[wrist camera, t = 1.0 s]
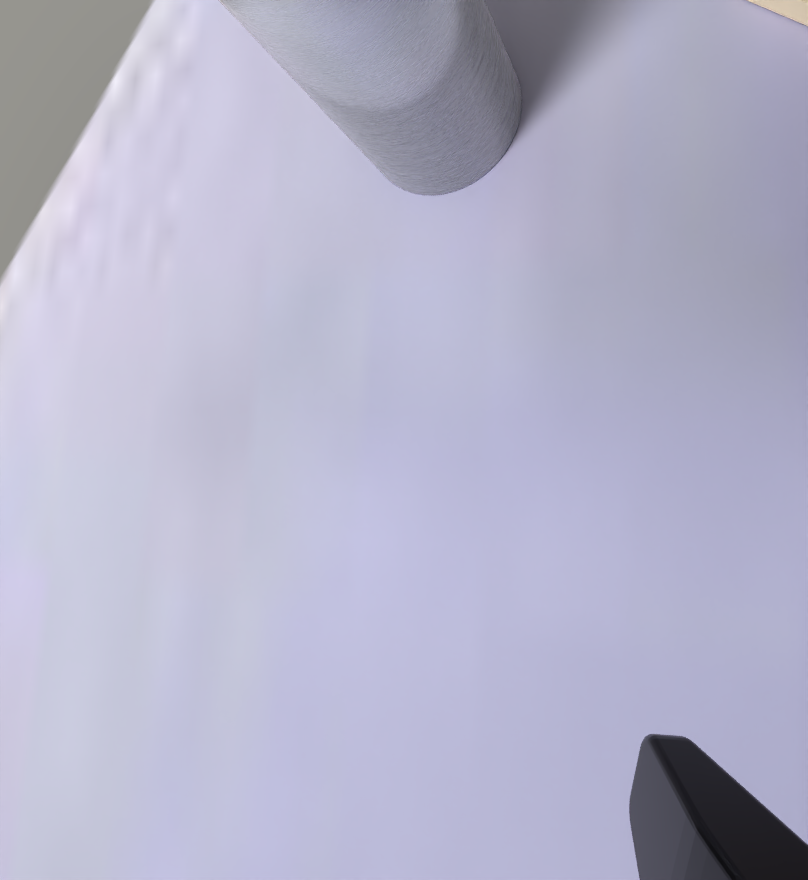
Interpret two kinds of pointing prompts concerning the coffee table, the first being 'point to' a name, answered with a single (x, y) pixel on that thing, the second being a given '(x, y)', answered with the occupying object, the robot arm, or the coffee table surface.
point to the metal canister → (400, 80)
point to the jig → (787, 8)
